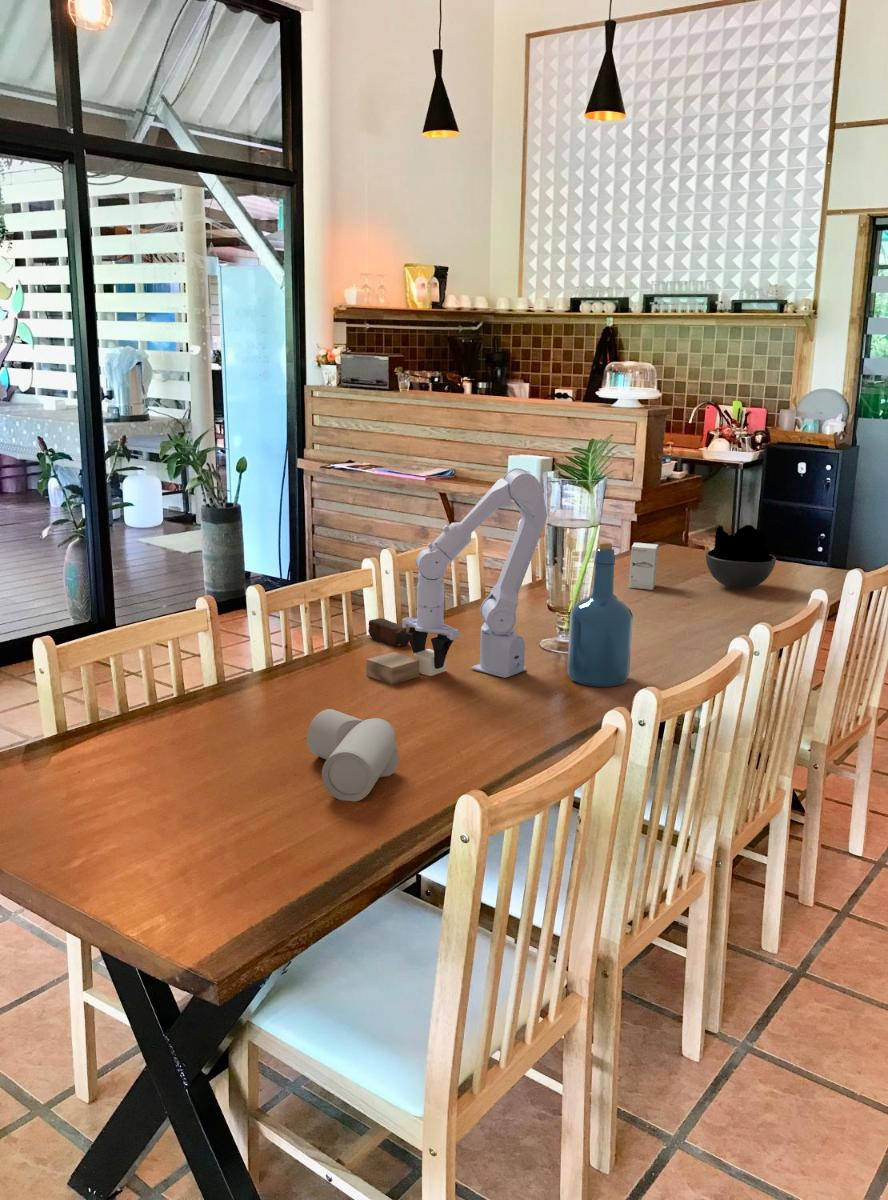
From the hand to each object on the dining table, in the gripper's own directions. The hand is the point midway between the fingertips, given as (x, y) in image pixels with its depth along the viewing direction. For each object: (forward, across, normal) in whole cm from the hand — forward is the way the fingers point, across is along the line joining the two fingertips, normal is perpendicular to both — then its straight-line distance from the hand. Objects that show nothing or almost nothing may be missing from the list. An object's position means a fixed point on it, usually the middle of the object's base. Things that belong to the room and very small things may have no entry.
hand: (429, 664), depth 226 cm
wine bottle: (+2, +30, +21) cm, 37 cm away
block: (+1, 0, 0) cm, 1 cm away
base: (+2, -4, -8) cm, 9 cm away
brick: (+2, -22, +10) cm, 24 cm away
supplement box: (+2, -6, +104) cm, 104 cm away
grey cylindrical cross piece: (+2, +27, -51) cm, 58 cm away
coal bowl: (+2, +16, +122) cm, 123 cm away
